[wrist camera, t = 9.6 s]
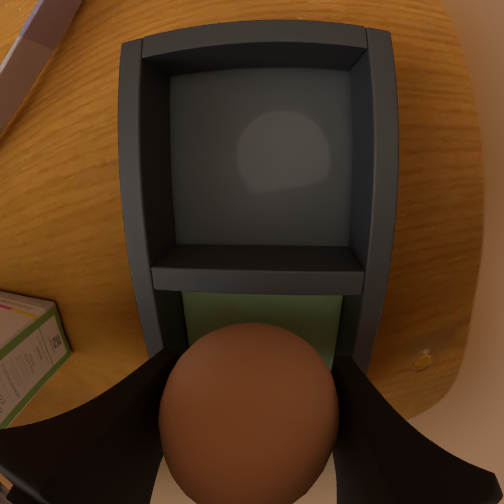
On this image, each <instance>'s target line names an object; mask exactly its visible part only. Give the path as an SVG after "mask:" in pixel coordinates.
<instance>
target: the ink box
mask: <svg viewBox="0 0 504 504" xmlns="http://www.w3.org/2000/svg"><path fill="white" fill-rule="evenodd" d="M71 355H72V353H71V350H70V347H69V344H68V342H67V340H66V337H65V335H64V332H63V329H62V325H61V320H60V316H59V313H58V310H57V307H56V305H55V303H54V302H52V301H47V300H41V299H36V298H30V297H26V296H22V295H17V294H12V293H8V292H3V291H0V429H5V428H8V426H9V425H10V424H11V423H12V422H13V420H14V419H15V418H16V417H17V416H18V414H19V413H20V412H21V411H22V410H23V409H24V408H25V406H26V405H27V404H28V403H29V402H30V401H31V400H32V398H33V397H34V396H35V395H36V394H37V393H38V392H39V391H40V390H41V388H42V387H43V386H44V385H45V384H46V383H47V382H48V381H49V380H50V378H51V377H52V376H53V375H54V374H55V373H56V372H57V371H58V370H59V369H60V368H61V367H62V365H63V364H64V363H65V362H66V361H67V360H68V359H69V358H70V357H71Z"/></svg>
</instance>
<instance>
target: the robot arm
mask: <svg viewBox="0 0 504 504" xmlns="http://www.w3.org/2000/svg"><path fill="white" fill-rule="evenodd" d="M179 358H180V353H179V350H174V349H166V348H163V349H162V350H160V351H159V352H158V353H157V354H155V355H154V356H153V357H152V358H150V359H149V360H148V361H147V362H145V363H144V364H143V365H141V366H140V367H139V368H138V369H136V370H135V371H134V372H132V373H131V374H130V375H128V376H127V377H126V378H125V379H123V380H122V381H120V382H119V383H117V384H116V385H114V386H113V387H111V388H110V389H108V390H107V391H105V392H104V393H102V394H101V395H99V396H98V397H96V398H94V399H92V400H90V401H89V402H87V403H85V404H83V405H81V406H79V407H77V408H75V409H72V410H70V411H68V412H65V413H63V414H60V415H58V416H55V417H53V418H50V419H46V420H43V421H40V422H36V423H32V424H28V425H24V426H18V427H12V428H5V429H0V473H1V474H2V475H3V476H4V477H5V478H7V479H8V480H9V481H10V482H11V483H12V484H13V486H12V488H11V490H9V489H8V488H6V487H5V486H4V485H3V484H2V483H1V482H0V504H150V500H151V495H152V491H153V487H154V483H155V479H156V476H157V472H158V468H159V465H160V462H161V459H162V457H163V451H162V444H161V438H160V431H159V424H158V417H159V408H160V401H161V398H162V395H163V392H164V389H165V386H166V383H167V380H168V377H169V374H170V373H171V371H172V370H173V368H174V366H175V365H176V363H177V361H178V360H179ZM331 374H332V377H333V380H334V384H335V387H336V391H337V395H338V403H339V427H338V433H337V439H336V443H335V446H334V448H333V450H332V452H333V458H334V464H335V471H336V480H337V481H336V482H337V504H497V503H499V501H500V500H501V499H502V497H503V493H502V491H501V488H500V485H499V483H498V481H497V478H496V476H495V474H494V473H492V472H489V471H487V470H484V469H482V468H479V467H477V466H474V465H472V464H470V463H467V462H465V461H464V460H462V459H460V458H458V457H456V456H454V455H452V454H450V453H449V452H447V451H445V450H444V449H442V448H441V447H439V446H438V445H436V444H435V443H433V442H432V441H430V440H429V439H427V438H426V437H425V436H424V435H422V434H421V433H420V432H418V431H417V430H416V429H415V428H414V427H413V426H411V425H410V424H409V423H408V422H407V421H406V420H405V419H404V418H403V417H402V416H401V415H400V414H399V413H398V412H397V411H396V410H395V409H394V408H393V407H392V406H391V405H390V404H389V403H388V402H387V401H386V400H385V399H384V397H383V396H382V395H381V394H380V393H379V391H378V390H377V389H376V388H375V387H374V386H373V384H372V383H371V382H370V381H369V379H368V378H367V377H366V375H365V374H364V373H363V371H362V370H361V369H360V368H359V366H358V365H357V363H356V362H355V361H354V359H353V358H352V357H351V356H346V357H334V358H333V363H332V369H331Z"/></svg>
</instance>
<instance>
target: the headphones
mask: <svg viewBox="0 0 504 504" xmlns="http://www.w3.org/2000/svg"><path fill="white" fill-rule="evenodd" d="M82 1H83V0H38V2H37V3H36V5H35V7H34V8H33V10H32V12H31V13H30V15H29V17H28V18H27V20H26V22H25V23H24V25H23V27H22V28H21V30H20V32H19V35H18V37H17V39H16V40H15V42H14V44H13V45H12V47H11V49H10V51H9V52H8V54H7V56H6V58H5V59H4V61H3V63H2V64H1V66H0V133H1V131H2V130H3V129H4V127H6V125H7V124H8V122H9V121H10V119H11V118H12V117H13V115H14V114H15V112H16V111H17V109H18V107H19V106H20V104H21V103H22V101H23V100H24V98H25V97H26V95H27V94H28V92H29V90H30V89H31V87H32V85H33V84H34V82H35V80H36V79H37V77H38V75H39V74H40V72H41V70H42V69H43V67H44V66H45V64H46V63H47V61H48V60H49V58H50V56H51V54H52V53H53V51H54V49H55V47H56V46H57V44H58V42H59V41H60V39H61V37H62V36H63V34H64V32H65V31H66V29H67V28H68V26H69V24H70V22H71V21H72V19H73V17H74V15H75V13H76V12H77V10H78V8H79V6H80V4H81V3H82Z"/></svg>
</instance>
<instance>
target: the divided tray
mask: <svg viewBox="0 0 504 504" xmlns="http://www.w3.org/2000/svg"><path fill="white" fill-rule="evenodd" d="M118 155H119V174H120V189H121V201H122V211H123V221H124V229H125V237H126V245H127V252H128V258H129V265H130V271H131V277H132V283H133V288H134V293H135V299H136V304H137V309H138V313H139V318H140V322H141V327H142V331H143V335H144V340H145V344H146V348H147V352H148V355H149V359H150V358H152V357H153V356H154V355H155V354H157V353H158V352H159V351H160V350H162V349H163V348H166V349H174V350H179V353H180V357H181V356H182V355H183V354H184V353H185V352H186V351H187V350H188V349H189V348H190V347H191V346H192V345H193V344H194V343H195V342H196V341H197V340H198V339H200V338H202V337H203V336H205V335H207V334H208V333H210V332H212V331H215V330H217V329H220V328H223V327H226V326H228V325H234V324H241V323H249V322H260V323H265V324H269V325H274V326H279V327H282V328H284V329H286V330H289V331H290V332H292V333H294V334H295V335H297V336H299V337H301V338H302V339H304V340H305V341H306V342H308V343H309V344H310V345H311V346H312V347H313V348H314V349H315V350H316V351H317V352H318V354H319V355H320V356H321V358H322V359H323V360H324V362H325V363H326V365H327V366H328V368H329V370H330V371H331V369H332V363H333V358H334V357H346V356H351V357H352V358H353V359H354V361H355V362H356V363H357V365H358V366H359V368H360V369H361V370H362V371H363V373H364V374H365V375H367V372H368V368H369V365H370V361H371V357H372V353H373V349H374V345H375V341H376V337H377V333H378V328H379V324H380V319H381V314H382V309H383V304H384V299H385V293H386V288H387V282H388V276H389V269H390V263H391V255H392V248H393V239H394V230H395V220H396V208H397V194H398V172H399V118H398V98H397V84H396V73H395V64H394V55H393V48H392V41H391V34H390V32H389V31H385V30H379V29H374V28H365V27H364V26H358V25H351V24H343V23H334V22H322V21H306V20H254V21H238V22H227V23H217V24H209V25H202V26H195V27H189V28H183V29H178V30H173V31H168V32H163V33H159V34H154V35H150V36H146V37H144V38H140V39H136V40H132V41H129V42H125V43H123V44H122V45H121V56H120V69H119V88H118Z"/></svg>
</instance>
